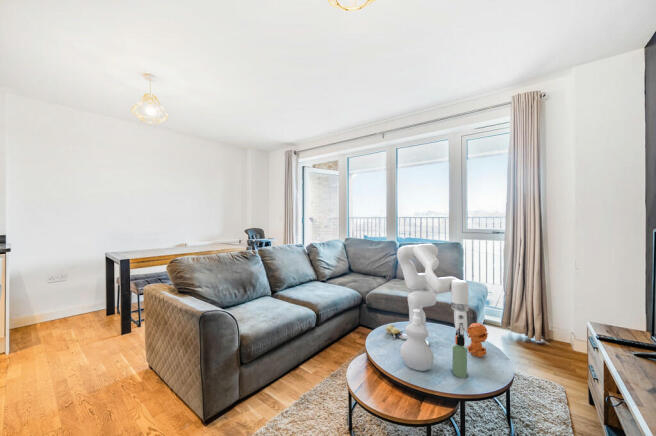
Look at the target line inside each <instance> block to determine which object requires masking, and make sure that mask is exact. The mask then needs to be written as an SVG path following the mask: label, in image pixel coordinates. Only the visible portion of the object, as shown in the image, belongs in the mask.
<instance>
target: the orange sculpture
mask: <svg viewBox="0 0 656 436" xmlns="http://www.w3.org/2000/svg"><path fill="white" fill-rule="evenodd" d="M466 336H467V338H468V339H469V338H470V344H469V345H467V347H466V348H467V352H468V354H471V355H472V356H473V357H476V358H483V357H484V356H487V349H486V348H485V346H483V344H482V343H485V342H486V340H487V339H488V336H489V332H488V328H487V327H486V326H485V325H483V324H482V322H478V321H476V322H473V323H471V324H470V325H469V326H467V332H466Z"/></svg>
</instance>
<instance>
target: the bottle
mask: <svg viewBox="0 0 656 436" xmlns="http://www.w3.org/2000/svg"><path fill="white" fill-rule="evenodd" d="M451 373H452V374H453V375H454V376H455V377H458V378H464V379H465V378H467V376H468V347H466V345H464V346H460V345H457V344H456V343H454V344H453V345H452V372H451Z"/></svg>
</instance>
